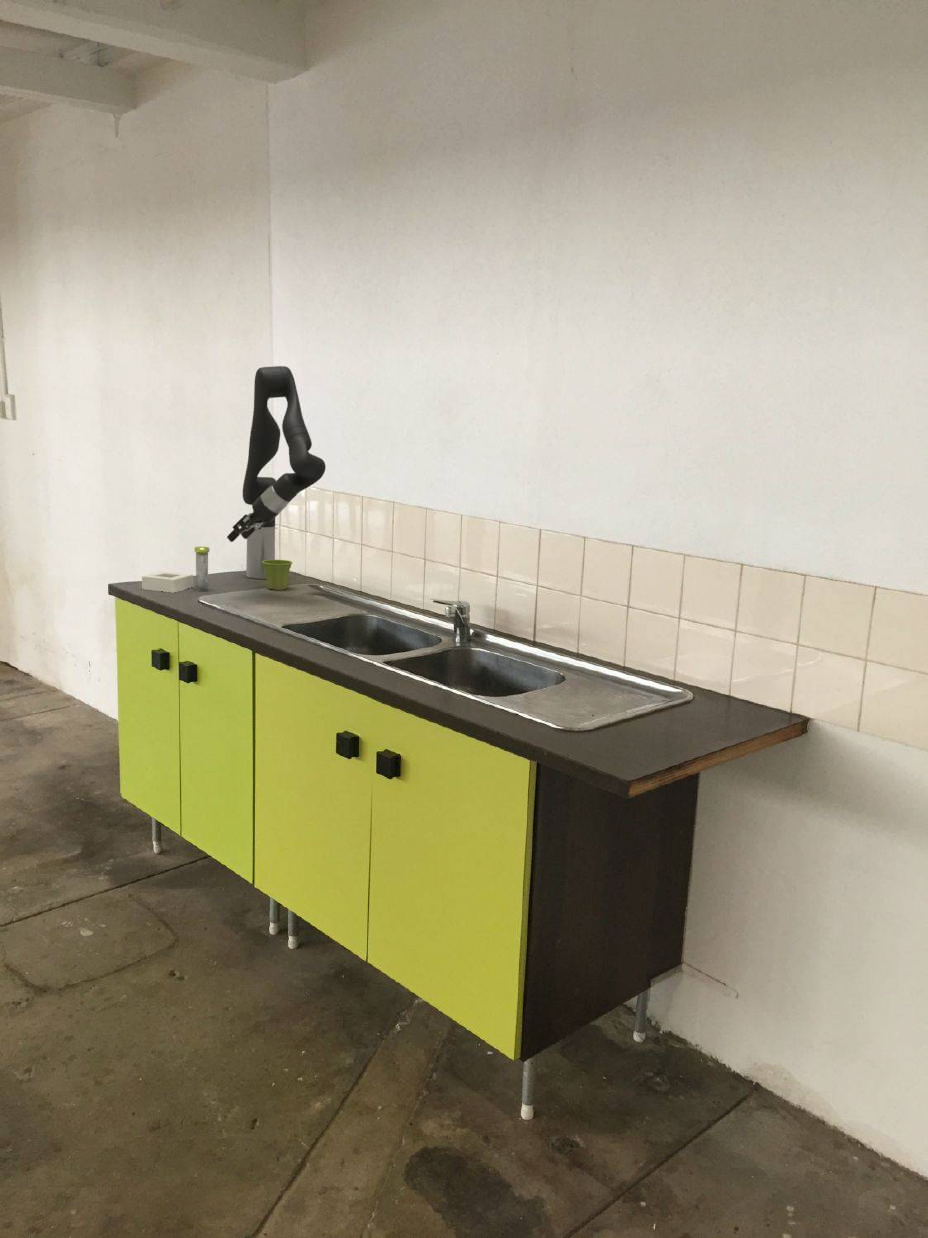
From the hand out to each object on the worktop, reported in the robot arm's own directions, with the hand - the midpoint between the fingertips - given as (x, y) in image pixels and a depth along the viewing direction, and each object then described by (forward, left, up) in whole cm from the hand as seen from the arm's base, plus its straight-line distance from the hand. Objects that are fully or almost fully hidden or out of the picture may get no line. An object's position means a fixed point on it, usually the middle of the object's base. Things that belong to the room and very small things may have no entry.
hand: (236, 538), depth 314 cm
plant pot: (-15, +6, -17) cm, 24 cm away
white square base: (+3, -22, -17) cm, 28 cm away
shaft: (0, -12, -17) cm, 21 cm away
